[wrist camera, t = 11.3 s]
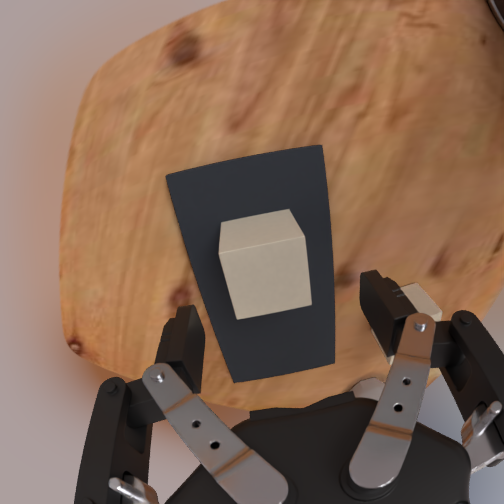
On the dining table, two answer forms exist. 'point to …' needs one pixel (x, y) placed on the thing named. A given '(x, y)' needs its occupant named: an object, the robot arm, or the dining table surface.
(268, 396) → the dining table surface
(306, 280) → the beige rounded cube
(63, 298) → the dining table surface
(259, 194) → the word mat
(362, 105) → the dining table surface
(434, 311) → the beige cube block
